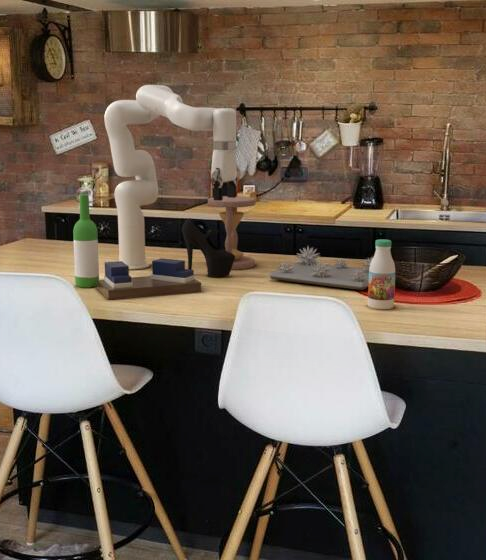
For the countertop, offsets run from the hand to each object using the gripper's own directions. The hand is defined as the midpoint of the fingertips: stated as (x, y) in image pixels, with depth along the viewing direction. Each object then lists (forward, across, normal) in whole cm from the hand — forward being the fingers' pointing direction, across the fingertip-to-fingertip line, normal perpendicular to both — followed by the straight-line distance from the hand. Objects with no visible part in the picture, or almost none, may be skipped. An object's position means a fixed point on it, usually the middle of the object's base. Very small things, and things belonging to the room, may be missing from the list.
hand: (224, 198), depth 262 cm
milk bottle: (+28, +11, +58) cm, 65 cm away
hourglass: (+28, -25, -10) cm, 39 cm away
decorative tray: (+28, -18, +31) cm, 46 cm away
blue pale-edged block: (+25, +18, -10) cm, 32 cm away
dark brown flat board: (+28, +24, -15) cm, 40 cm away
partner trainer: (+25, +31, -22) cm, 46 cm away
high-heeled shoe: (+28, -6, -9) cm, 30 cm away
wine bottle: (+28, +27, -37) cm, 54 cm away
